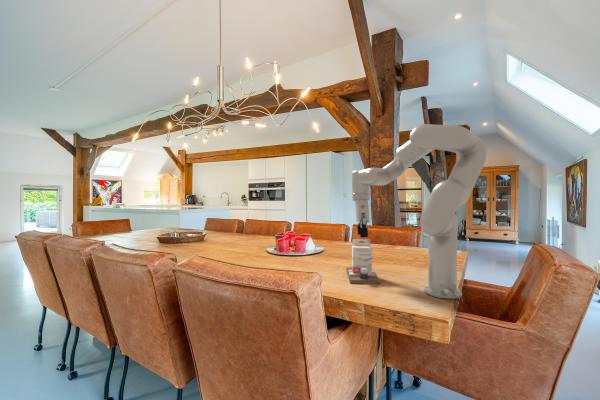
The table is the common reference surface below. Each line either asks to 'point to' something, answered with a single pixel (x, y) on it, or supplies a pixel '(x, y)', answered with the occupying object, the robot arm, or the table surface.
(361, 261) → the ink cartridge box
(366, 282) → the board
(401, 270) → the table surface
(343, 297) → the table surface
